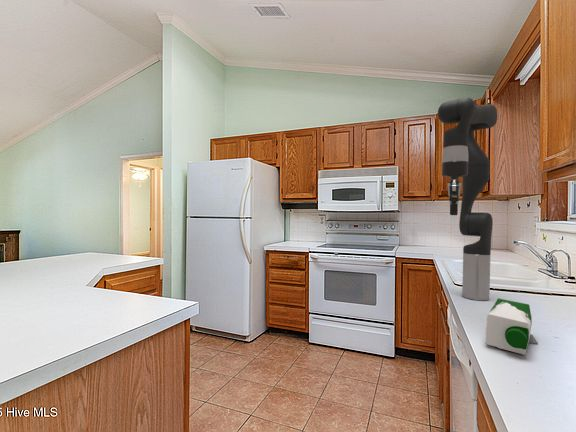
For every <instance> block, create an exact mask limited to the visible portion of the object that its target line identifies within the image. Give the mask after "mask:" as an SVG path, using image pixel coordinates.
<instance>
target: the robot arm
mask: <svg viewBox="0 0 576 432" xmlns="http://www.w3.org/2000/svg"><path fill="white" fill-rule="evenodd" d="M437 117H438V119H439V121H440V122H441V123H442V124H445V125H450V124H457V125H456V126H454V127H451V128H449V129H446V130H445V131H444V133H443V142H442V143H443V150H442V157H441V162H442V163H441V176H442V177H443V178H449V179H450V181H447V192H448V193H447V196H448V197H449V198H448V200H449V201H448V202H449V215H450V216H457V215H458V209H459V205H458V204H459V203H460V202H459V201H460V198H459V197H460V196H461V204H460V205H461V206H460V214H459V224H458V225H459V232H460V234H461V235H462V236H467V237H468V236H470V237H479V240H478V241H475V242H473V243H469V244H465V245H463V249H462V283H461V284H462V285H461V286H462V289H461V292H462V293H461V295H462V297H463V298H465V299H468V300H474V301H489V300H490V297H491V295H490V292H491V291H490V288H491V287H490V285H491V281H490V280H491V253H492V252H491V251H492V250H491V249H492V235H493V223H494V222H493V216H492V214H490V213H489V212H472V209H473V206H474V203H475V201H476V199H477V197H478V196H479V194H480V193H481V192H482V191H483V190H484V188H485V187H486V186H487V184H488V182H489V180H490V175H491V174H490V173H491V172H490V171H491V161H490V160H489V157H488V156H487V155H486V153H485V151H483V149H482V148H481V147H480V145H479V143H478V142H477V139H476V137H475V131H480V130H487V129H490V128H491V129H492V128H493V127H495V126H496V124H497V122H498V109H497V107H496V106H495V105H494V104H491V103H489V104H488V103H487V104H482V105H480V104H476V103H475V100H474V99H473V98H472V97H467V96H466V97H462V98H458V99H457V98H456V99H452V100H447V101H445V102H442V103H441V104H440V105H439V107H438V109H437ZM459 178H462V181H460V180H459ZM461 188H462V190H461ZM461 191H462V194H461Z"/></svg>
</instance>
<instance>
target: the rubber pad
mask: <svg viewBox="0 0 576 432" xmlns="http://www.w3.org/2000/svg"><path fill="white" fill-rule="evenodd" d="M538 343H539V342H538V341H537V339H536V338H535V336H534V334H532V333H530V338H529V342H528V344H533V345H538Z"/></svg>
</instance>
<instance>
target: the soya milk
mask: <svg viewBox="0 0 576 432" xmlns="http://www.w3.org/2000/svg"><path fill="white" fill-rule="evenodd" d="M530 306H531V305H530V304H528V303H523V302H519V301H513V300H509V299H508V300H507V299H503V298H499V297H498V298H497V300H496V301H495V302H494V304H493V305H492V307H491V309H490V310H489V313H488V314H487V316H486V323H485V344H486V345H489V346H492V347H496V348H498V349H500V350H506V351H508V352H513V353H516V354H520V355H524V356H525V355H526V353H527V349H528V345H529V343H528V342H529V338H530V334H532V333H531V332H532V322H533V321H532V319H533V318H532V313H531V307H530Z"/></svg>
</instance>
